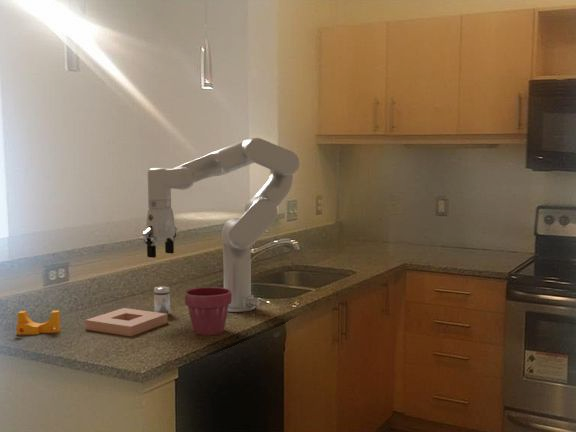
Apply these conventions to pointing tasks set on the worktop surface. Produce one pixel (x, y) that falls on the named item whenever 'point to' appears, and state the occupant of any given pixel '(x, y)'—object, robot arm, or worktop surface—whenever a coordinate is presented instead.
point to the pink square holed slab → (126, 321)
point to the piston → (162, 300)
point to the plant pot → (208, 309)
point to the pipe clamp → (37, 324)
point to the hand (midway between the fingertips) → (160, 255)
